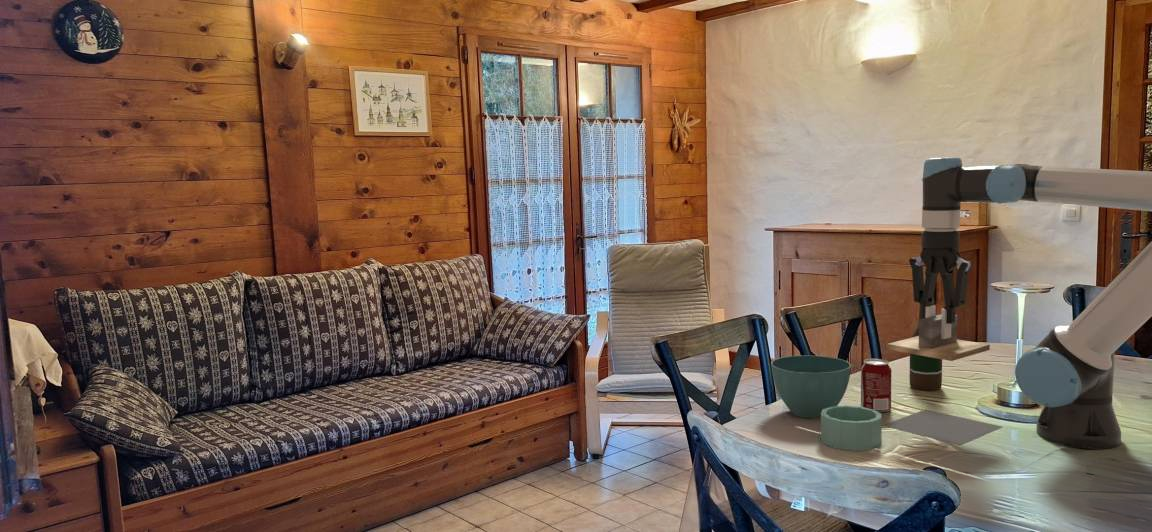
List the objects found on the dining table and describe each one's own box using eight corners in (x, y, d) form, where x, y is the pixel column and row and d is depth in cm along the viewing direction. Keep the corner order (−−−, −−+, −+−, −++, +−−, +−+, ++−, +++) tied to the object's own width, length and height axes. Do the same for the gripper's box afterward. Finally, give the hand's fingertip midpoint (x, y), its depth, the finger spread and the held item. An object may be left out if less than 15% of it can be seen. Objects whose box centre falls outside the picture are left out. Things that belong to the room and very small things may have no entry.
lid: (989, 350, 175) (990, 317, 174) (951, 361, 166) (952, 326, 165) (925, 339, 187) (925, 308, 186) (886, 349, 178) (887, 317, 177)
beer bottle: (948, 388, 209) (950, 297, 206) (925, 392, 206) (926, 300, 203) (925, 382, 216) (926, 293, 213) (902, 385, 213) (903, 296, 210)
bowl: (892, 441, 171) (893, 414, 170) (859, 455, 163) (859, 426, 163) (843, 428, 180) (843, 402, 180) (809, 440, 173) (809, 413, 172)
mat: (1002, 428, 176) (1002, 426, 176) (960, 447, 166) (960, 445, 166) (925, 410, 191) (925, 409, 191) (881, 427, 180) (881, 425, 180)
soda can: (893, 415, 189) (893, 365, 187) (863, 414, 190) (863, 364, 189) (888, 406, 195) (888, 358, 194) (859, 406, 197) (859, 358, 195)
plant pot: (756, 415, 192) (756, 365, 191) (796, 398, 205) (796, 351, 203) (826, 430, 179) (826, 376, 178) (864, 411, 192) (864, 361, 191)
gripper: (986, 230, 169) (983, 339, 172) (916, 227, 182) (913, 328, 185) (967, 232, 165) (964, 345, 167) (896, 229, 178) (894, 333, 180)
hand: (938, 336), depth 176 cm, fingers closed on lid, 3 cm apart
